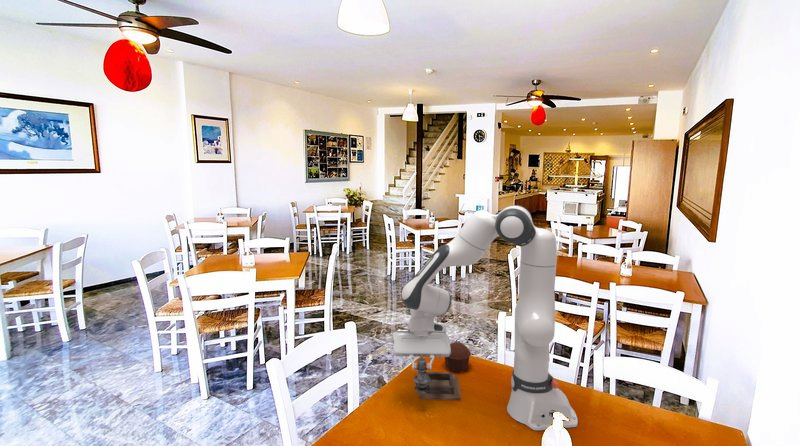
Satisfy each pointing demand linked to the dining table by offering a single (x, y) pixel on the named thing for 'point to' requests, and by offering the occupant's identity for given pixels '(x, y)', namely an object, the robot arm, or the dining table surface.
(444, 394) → the walnut board
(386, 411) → the dining table surface
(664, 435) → the dining table surface
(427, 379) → the grey chess piece
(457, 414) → the dining table surface
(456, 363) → the muffin
